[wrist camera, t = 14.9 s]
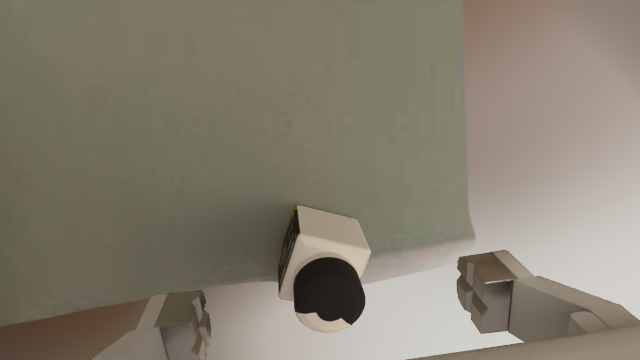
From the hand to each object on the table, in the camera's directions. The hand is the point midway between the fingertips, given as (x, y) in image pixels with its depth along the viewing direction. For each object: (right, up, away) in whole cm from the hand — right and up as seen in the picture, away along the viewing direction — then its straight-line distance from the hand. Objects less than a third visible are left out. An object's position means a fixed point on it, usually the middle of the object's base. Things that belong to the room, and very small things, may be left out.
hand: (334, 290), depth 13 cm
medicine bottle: (-1, -3, +32) cm, 33 cm away
